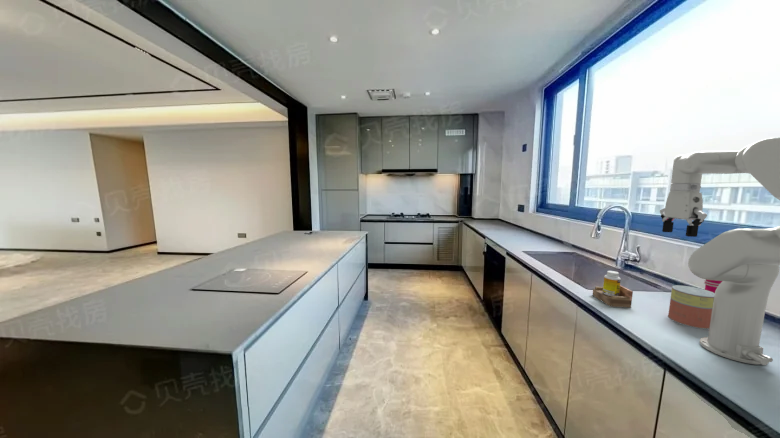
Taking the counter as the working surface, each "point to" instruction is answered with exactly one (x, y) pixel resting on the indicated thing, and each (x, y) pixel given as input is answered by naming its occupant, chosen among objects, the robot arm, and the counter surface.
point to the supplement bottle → (611, 283)
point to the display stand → (615, 297)
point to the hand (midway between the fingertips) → (678, 234)
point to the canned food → (691, 306)
